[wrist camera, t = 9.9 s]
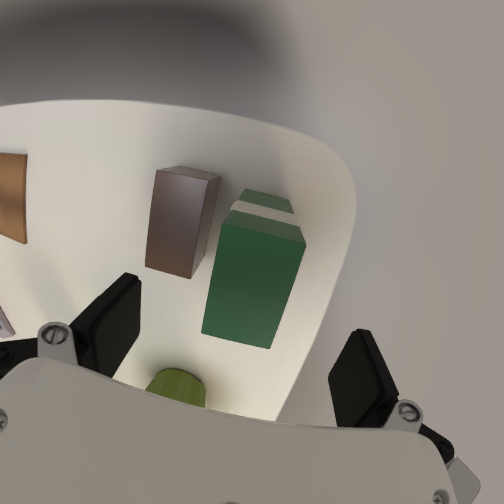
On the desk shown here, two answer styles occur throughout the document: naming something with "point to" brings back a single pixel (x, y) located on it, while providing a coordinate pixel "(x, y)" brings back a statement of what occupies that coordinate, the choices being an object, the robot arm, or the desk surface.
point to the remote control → (5, 327)
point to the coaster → (13, 196)
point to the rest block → (180, 219)
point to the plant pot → (178, 387)
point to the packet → (253, 270)
